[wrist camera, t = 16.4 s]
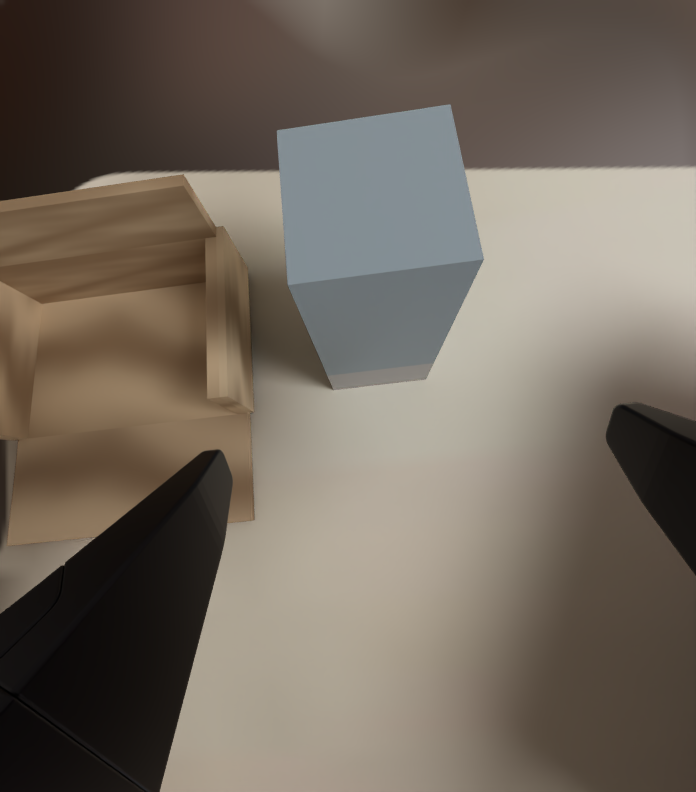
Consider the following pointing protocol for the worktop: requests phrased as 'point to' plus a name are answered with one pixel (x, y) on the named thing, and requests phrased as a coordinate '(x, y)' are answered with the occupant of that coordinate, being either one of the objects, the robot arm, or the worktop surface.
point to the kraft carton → (119, 353)
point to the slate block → (378, 240)
